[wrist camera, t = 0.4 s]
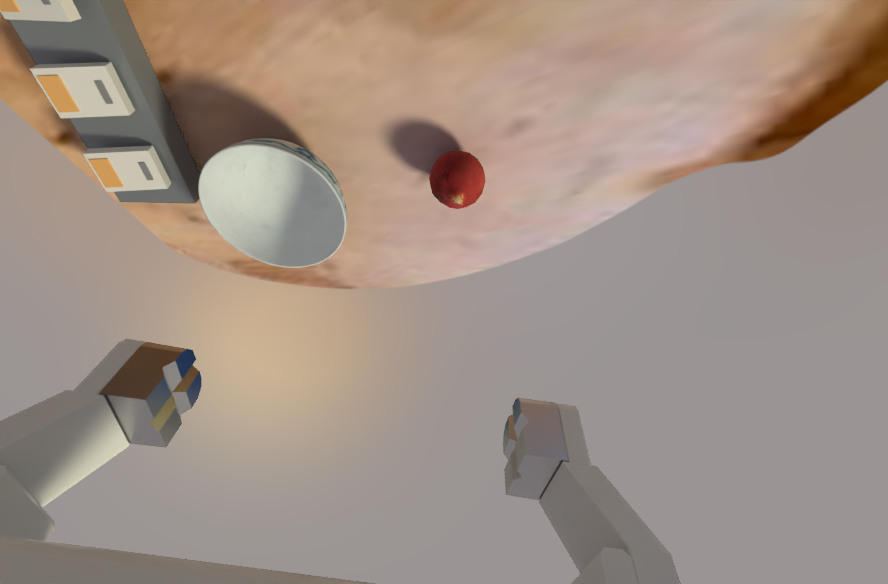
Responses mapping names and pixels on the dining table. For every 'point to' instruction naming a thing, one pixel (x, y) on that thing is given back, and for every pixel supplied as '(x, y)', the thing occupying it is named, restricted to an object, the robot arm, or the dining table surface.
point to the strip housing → (152, 122)
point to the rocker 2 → (83, 89)
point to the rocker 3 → (128, 168)
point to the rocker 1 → (39, 10)
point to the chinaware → (274, 202)
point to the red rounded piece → (457, 179)
